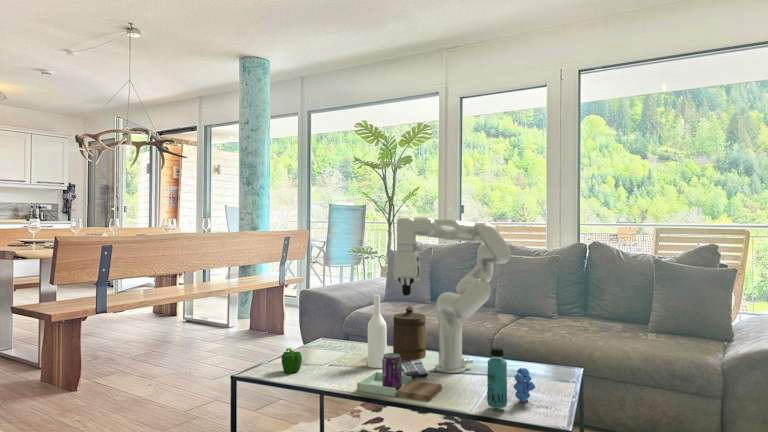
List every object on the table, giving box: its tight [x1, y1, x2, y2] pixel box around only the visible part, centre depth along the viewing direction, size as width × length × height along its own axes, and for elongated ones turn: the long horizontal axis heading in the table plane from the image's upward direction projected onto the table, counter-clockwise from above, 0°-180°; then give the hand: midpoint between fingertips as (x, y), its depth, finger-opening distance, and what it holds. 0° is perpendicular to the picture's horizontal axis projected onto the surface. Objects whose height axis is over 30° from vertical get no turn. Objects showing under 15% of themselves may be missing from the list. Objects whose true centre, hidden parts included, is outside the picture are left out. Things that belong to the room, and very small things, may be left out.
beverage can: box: [381, 352, 403, 389], centre depth 191 cm, size 7×7×12 cm
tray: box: [356, 371, 412, 398], centre depth 192 cm, size 15×15×3 cm
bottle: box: [367, 294, 388, 369], centre depth 221 cm, size 8×8×30 cm
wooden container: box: [392, 306, 427, 360], centre depth 237 cm, size 15×15×22 cm
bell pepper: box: [281, 347, 303, 374], centre depth 213 cm, size 8×8×10 cm
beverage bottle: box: [486, 347, 508, 409], centre depth 170 cm, size 6×7×20 cm
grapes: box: [513, 367, 536, 403], centre depth 176 cm, size 12×7×12 cm, turn 145°
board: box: [396, 379, 443, 402], centre depth 186 cm, size 12×13×2 cm
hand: (406, 295), depth 206 cm, fingers closed
